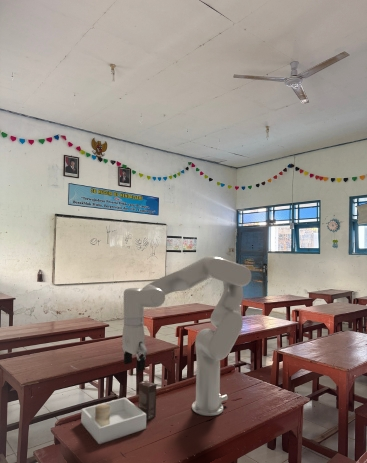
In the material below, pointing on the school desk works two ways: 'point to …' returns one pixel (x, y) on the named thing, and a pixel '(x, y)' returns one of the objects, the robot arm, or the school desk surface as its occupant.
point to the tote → (114, 420)
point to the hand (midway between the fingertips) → (134, 366)
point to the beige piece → (102, 414)
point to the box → (147, 398)
